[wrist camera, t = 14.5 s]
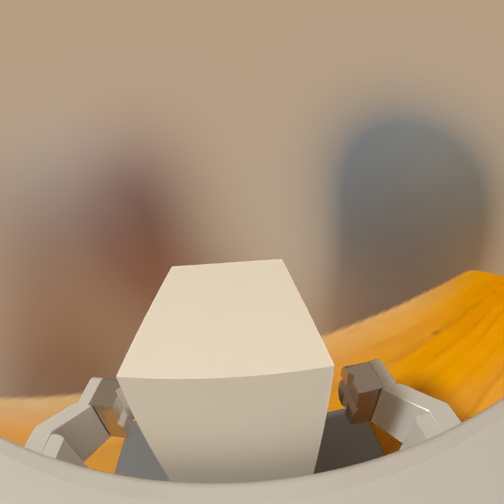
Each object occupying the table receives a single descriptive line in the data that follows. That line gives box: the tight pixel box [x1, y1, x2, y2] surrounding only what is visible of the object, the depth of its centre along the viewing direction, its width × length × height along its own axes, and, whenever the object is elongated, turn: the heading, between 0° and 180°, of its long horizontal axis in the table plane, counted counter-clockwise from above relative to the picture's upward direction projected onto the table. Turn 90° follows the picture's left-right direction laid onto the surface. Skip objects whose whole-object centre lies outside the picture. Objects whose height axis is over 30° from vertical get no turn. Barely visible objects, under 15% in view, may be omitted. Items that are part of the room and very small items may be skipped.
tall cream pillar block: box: [116, 259, 335, 483], centre depth 10 cm, size 4×6×14 cm, turn 4°
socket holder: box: [115, 409, 385, 482], centre depth 11 cm, size 18×14×6 cm
